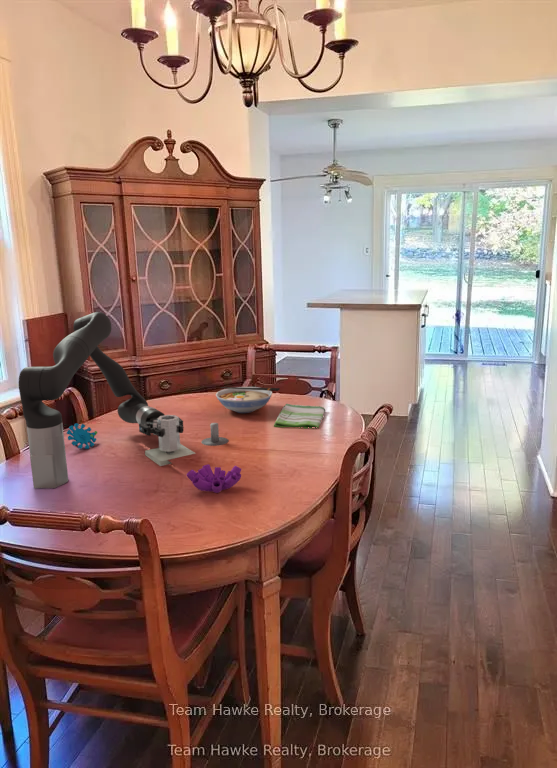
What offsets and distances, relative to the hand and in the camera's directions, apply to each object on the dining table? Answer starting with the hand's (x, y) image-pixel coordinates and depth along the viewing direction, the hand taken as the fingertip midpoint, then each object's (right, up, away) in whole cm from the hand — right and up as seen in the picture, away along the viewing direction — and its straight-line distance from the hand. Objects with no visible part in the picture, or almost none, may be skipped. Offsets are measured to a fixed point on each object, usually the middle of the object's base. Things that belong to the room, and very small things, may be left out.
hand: (172, 431), depth 180 cm
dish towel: (+41, +1, +42) cm, 59 cm away
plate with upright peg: (-1, -8, +4) cm, 9 cm away
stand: (+12, -6, +13) cm, 19 cm away
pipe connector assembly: (+15, -14, -23) cm, 31 cm away
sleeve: (-1, -5, +3) cm, 6 cm away
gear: (-32, -6, +15) cm, 36 cm away
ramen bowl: (+19, +4, +54) cm, 58 cm away
